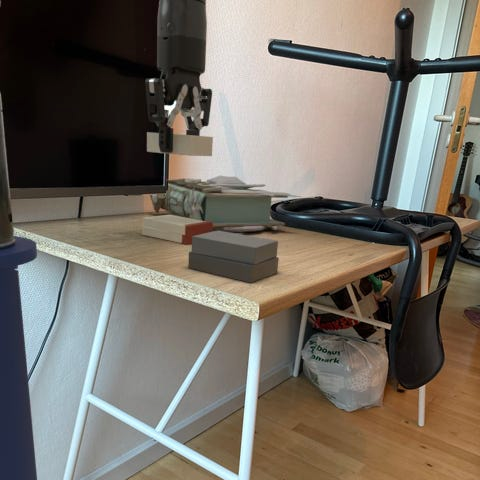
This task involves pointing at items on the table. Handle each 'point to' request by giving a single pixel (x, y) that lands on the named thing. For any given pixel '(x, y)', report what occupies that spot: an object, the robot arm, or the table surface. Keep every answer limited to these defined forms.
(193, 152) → the white book
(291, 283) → the table surface
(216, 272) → the grey stack
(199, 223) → the white stack
